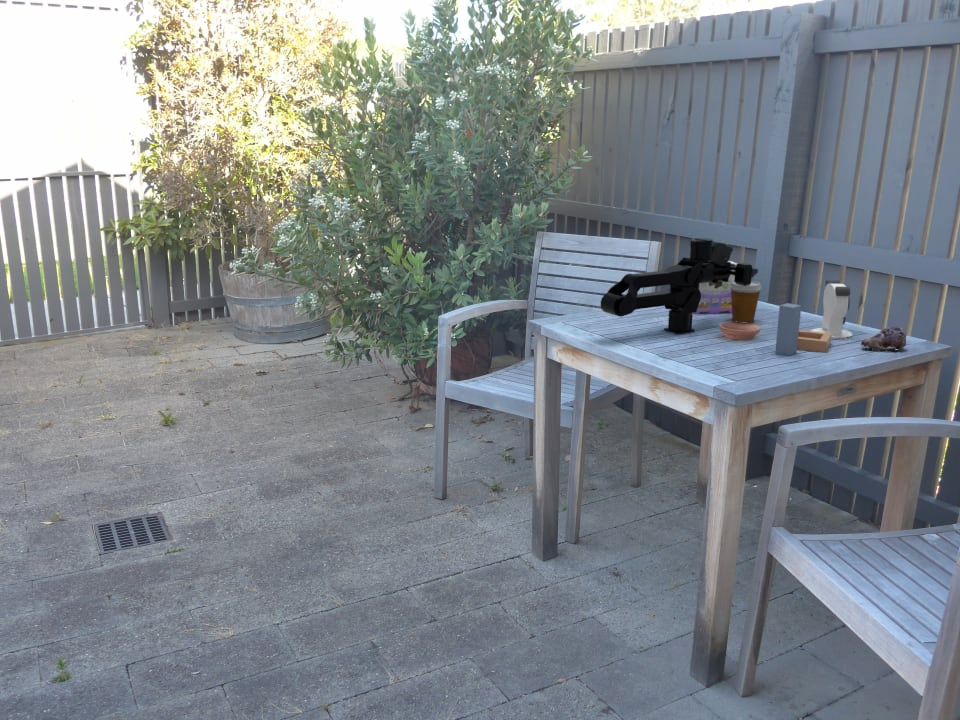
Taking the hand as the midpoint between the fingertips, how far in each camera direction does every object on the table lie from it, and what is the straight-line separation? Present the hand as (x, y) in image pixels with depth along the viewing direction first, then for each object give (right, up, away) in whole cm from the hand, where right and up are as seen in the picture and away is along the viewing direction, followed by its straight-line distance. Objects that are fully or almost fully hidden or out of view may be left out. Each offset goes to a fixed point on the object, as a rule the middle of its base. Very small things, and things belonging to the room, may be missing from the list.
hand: (746, 268), depth 257 cm
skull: (+28, -25, -28) cm, 47 cm away
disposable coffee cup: (+1, -16, +5) cm, 17 cm away
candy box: (-6, -12, +18) cm, 23 cm away
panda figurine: (+21, -21, -11) cm, 32 cm away
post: (+1, -26, -31) cm, 41 cm away
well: (+9, -24, -24) cm, 36 cm away
